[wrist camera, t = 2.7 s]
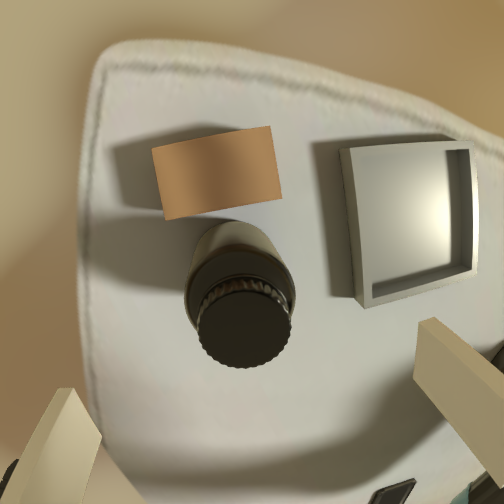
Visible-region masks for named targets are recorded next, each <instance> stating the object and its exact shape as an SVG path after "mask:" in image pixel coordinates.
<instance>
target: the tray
mask: <svg viewBox="0 0 504 504" xmlns="http://www.w3.org/2000/svg"><path fill="white" fill-rule="evenodd" d="M339 155H340V161H341V168H342V176H343V183H344V191H345V199H346V208H347V217H348V226H349V236H350V247H351V259H352V273H353V289H354V299H355V300H356V301H357V302H358V303H359V304H360V305H361V306H362V307H363V308H364V309H367V308H371V307H374V306H378V305H382V304H385V303H389V302H392V301H396V300H400V299H403V298H407V297H410V296H413V295H417V294H420V293H423V292H427V291H430V290H433V289H436V288H440V287H443V286H446V285H449V284H452V283H455V282H458V281H461V280H464V279H467V278H470V277H473V276H476V275H477V259H478V187H477V171H476V159H475V150H474V141H473V140H465V141H435V142H415V143H400V144H387V145H375V146H364V147H354V148H344V149H339Z"/></svg>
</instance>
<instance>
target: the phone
mask: <svg viewBox="0 0 504 504" xmlns="http://www.w3.org/2000/svg"><path fill="white" fill-rule="evenodd" d="M415 484H416V480H415V479H414V478H412V479H409V480H406V481H404V482H401V483H398V484H395V485H392V486H388V487H385V488H382V489H380V490H379V491H378V492H377V493H376V495H375V497H374V499H373V501H372V503H371V504H404V502H405V501H406V499H407V498H408V496H409V494H410V493H411V491H412V489H413V488H414V486H415Z"/></svg>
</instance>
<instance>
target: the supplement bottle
mask: <svg viewBox="0 0 504 504" xmlns="http://www.w3.org/2000/svg"><path fill="white" fill-rule="evenodd" d="M295 300H296V292H295V286H294V282H293V279H292V277H291V274H290V272H289V270H288V269H287V267H286V265H285V264H284V262H283V260H282V259H281V257H280V255H279V254H278V252H277V250H276V249H275V247H274V246H273V244H272V242H271V241H270V239H269V238H268V237H267V236H266V234H265V233H264V232H262V231H261V230H260V229H259V228H257V227H255V226H253V225H251V224H249V223H245V222H239V221H230V222H225V223H221V224H219V225H216V226H214V227H213V228H211V229H210V230H208V231H207V232H206V233H205V234H204V235H203V236H202V238H201V239H200V241H199V242H198V244H197V246H196V249H195V251H194V255H193V258H192V262H191V266H190V269H189V273H188V277H187V281H186V285H185V291H184V305H185V310H186V314H187V316H188V319H189V321H190V322H191V324H192V326H193V327H194V328H195V330H196V331H197V333H198V335H199V341H200V343H201V344H202V348H203V349H204V350H206V352H207V354H208V355H209V356H211V357H212V358H213V359H214V360H216V361H218V362H219V363H220V364H223V365H227V366H228V367H235V368H237V369H238V368H245V369H247V368H250V367H257V366H258V365H263V364H265V363H266V362H269V361H271V360H272V359H273V358H274V357H276V356H278V354H279V352H281V351H282V350H283V349H284V346H285V345H286V344H287V343H288V338H289V337H290V330H291V328H292V326H291V316H292V314H293V311H294V307H295Z"/></svg>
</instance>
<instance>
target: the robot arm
mask: <svg viewBox="0 0 504 504" xmlns="http://www.w3.org/2000/svg"><path fill="white" fill-rule="evenodd" d="M413 379H414V380H415V382H416V383H417V384H418V385H419V386H420V388H421V389H422V390H423V391H424V392H425V394H426V395H427V396H428V397H429V399H430V400H431V401H432V402H433V403H434V405H435V406H436V407H437V408H438V410H439V411H440V412H441V413H442V414H443V416H444V417H445V418H446V419H447V421H448V422H449V423H450V424H451V426H452V427H453V428H454V429H455V431H456V432H457V433H458V434H459V436H460V437H461V438H462V439H463V441H464V442H465V443H466V445H467V446H468V447H469V448H470V450H471V451H472V452H473V454H474V455H475V456H476V457H477V459H478V460H479V461H480V463H481V464H482V465H483V467H484V468H485V469H486V471H485V472H484V473H483V474H482V475H481V476H479V477H478V478H477V479H476V480H475V481H474V482H471V483H469V485H468V486H467V488H465V489H464V490H463V491H462V492H461V493H460V494H459V495H457V496H456V497H455V498H454V499H453V500H452V501H451V503H450V504H504V347H503V348H502V350H501V351H500V352H499V353H498V354H497V356H496V357H495V358H494V360H493V361H492V362H491V363H490V362H489V361H488V360H486V359H485V358H484V357H483V356H482V355H481V354H479V353H478V352H477V351H476V350H475V349H473V348H472V347H471V346H470V345H469V344H467V343H466V342H465V341H464V340H463V339H461V338H460V337H459V336H458V335H456V334H455V333H454V332H453V331H451V330H450V329H449V328H448V327H447V326H445V325H444V324H443V323H442V322H440V321H439V320H438V319H436V318H435V317H432V318H430V319H427V320H424V321H421V322H419V323H418V335H417V346H416V356H415V364H414V372H413ZM101 439H102V436H101V434H100V432H99V431H98V429H97V428H96V426H95V424H94V423H93V421H92V419H91V418H90V416H89V414H88V413H87V411H86V409H85V407H84V406H83V404H82V402H81V400H80V399H79V397H78V395H77V393H76V391H75V389H74V388H58V390H57V391H56V393H55V395H54V396H53V398H52V400H51V402H50V403H49V405H48V407H47V409H46V410H45V412H44V414H43V416H42V418H41V419H40V421H39V423H38V425H37V427H36V429H35V430H34V432H33V434H32V436H31V438H30V440H29V442H28V443H27V445H26V447H25V449H24V451H23V453H22V455H21V457H20V459H16V460H15V461H14V462H13V463H12V464H11V465H10V466H9V467H8V468H7V470H6V472H5V474H4V476H3V478H2V479H3V481H1V483H0V504H82V501H83V497H84V494H85V490H86V487H87V484H88V480H89V477H90V474H91V470H92V467H93V464H94V460H95V458H96V454H97V451H98V448H99V445H100V442H101Z"/></svg>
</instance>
